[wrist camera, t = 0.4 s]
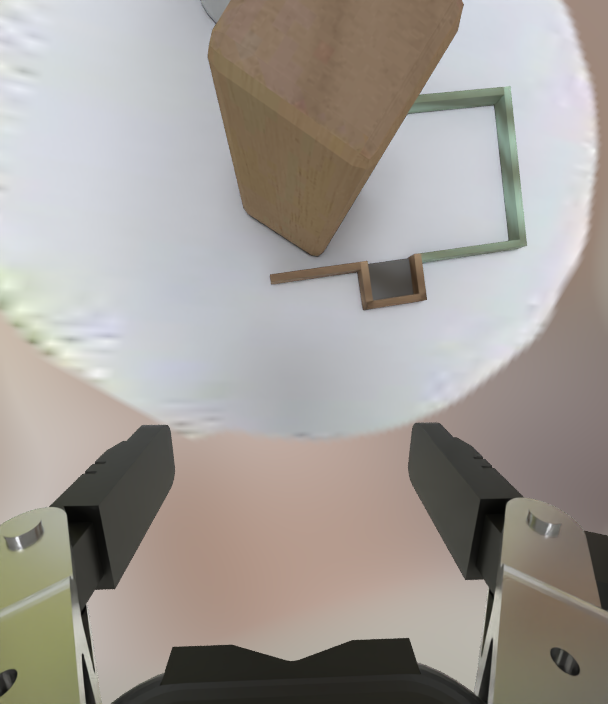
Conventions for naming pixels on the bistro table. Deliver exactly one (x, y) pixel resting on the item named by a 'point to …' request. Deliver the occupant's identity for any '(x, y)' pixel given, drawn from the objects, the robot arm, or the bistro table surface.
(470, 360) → the bistro table surface
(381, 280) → the notched outline frame
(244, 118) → the block
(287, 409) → the bistro table surface
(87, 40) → the bistro table surface
